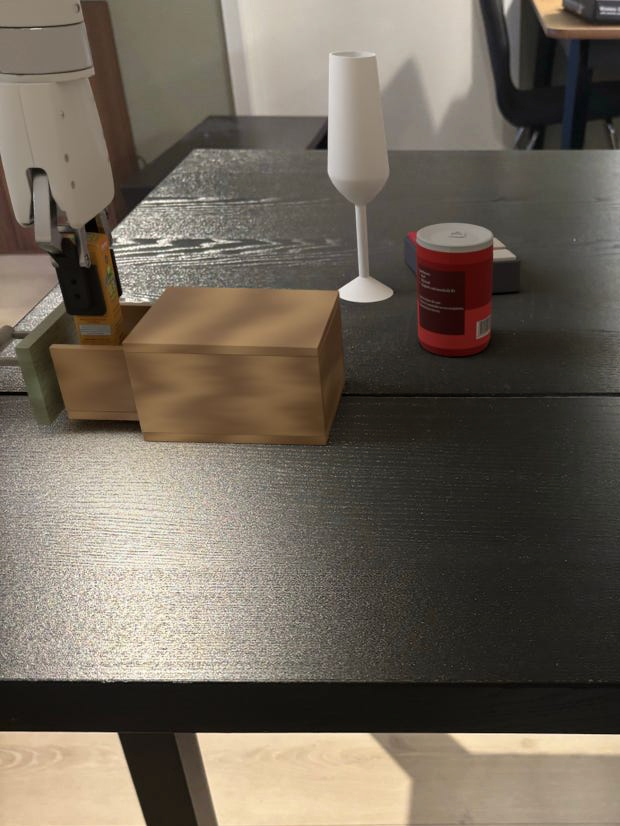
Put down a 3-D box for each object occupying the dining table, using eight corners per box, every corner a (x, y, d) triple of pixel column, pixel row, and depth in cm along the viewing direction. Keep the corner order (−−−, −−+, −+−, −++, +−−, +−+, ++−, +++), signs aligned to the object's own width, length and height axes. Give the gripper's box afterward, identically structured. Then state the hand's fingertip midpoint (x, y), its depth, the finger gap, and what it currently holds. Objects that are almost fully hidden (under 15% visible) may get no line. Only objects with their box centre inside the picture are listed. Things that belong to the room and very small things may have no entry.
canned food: (483, 327, 102) (486, 221, 95) (497, 356, 96) (501, 244, 89) (413, 330, 101) (411, 223, 94) (422, 359, 95) (421, 246, 88)
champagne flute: (325, 296, 109) (306, 55, 94) (355, 279, 114) (341, 47, 99) (375, 306, 107) (363, 60, 92) (403, 289, 112) (397, 53, 97)
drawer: (-31, 423, 80) (-57, 345, 75) (26, 365, 89) (5, 293, 85) (207, 429, 80) (193, 352, 76) (237, 371, 90) (227, 299, 85)
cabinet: (143, 440, 80) (121, 342, 75) (184, 376, 91) (167, 286, 85) (326, 445, 80) (317, 347, 75) (345, 380, 91) (339, 290, 85)
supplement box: (124, 363, 81) (97, 243, 75) (84, 363, 81) (52, 243, 75) (132, 348, 84) (106, 230, 77) (93, 348, 83) (63, 230, 77)
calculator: (486, 225, 120) (521, 253, 109) (486, 260, 123) (520, 291, 111) (402, 229, 118) (429, 259, 106) (404, 265, 120) (430, 298, 109)
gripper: (28, 37, 74) (85, 273, 86) (-69, 68, 62) (12, 341, 73) (122, 39, 75) (166, 275, 86) (45, 71, 62) (109, 343, 73)
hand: (95, 303), depth 79 cm, fingers closed on supplement box, 3 cm apart
